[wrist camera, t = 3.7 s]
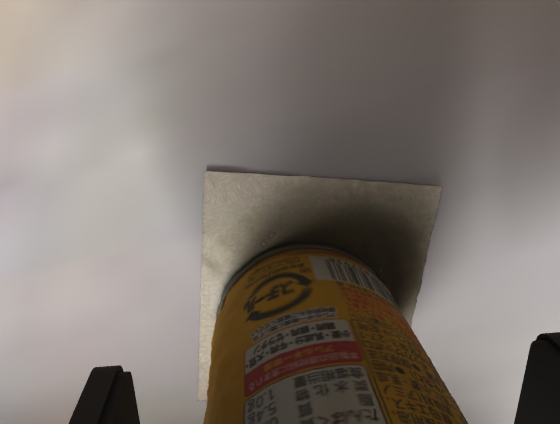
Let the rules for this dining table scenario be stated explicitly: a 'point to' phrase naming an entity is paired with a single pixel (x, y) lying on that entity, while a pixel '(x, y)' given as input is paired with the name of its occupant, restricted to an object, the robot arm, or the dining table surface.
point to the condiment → (315, 302)
